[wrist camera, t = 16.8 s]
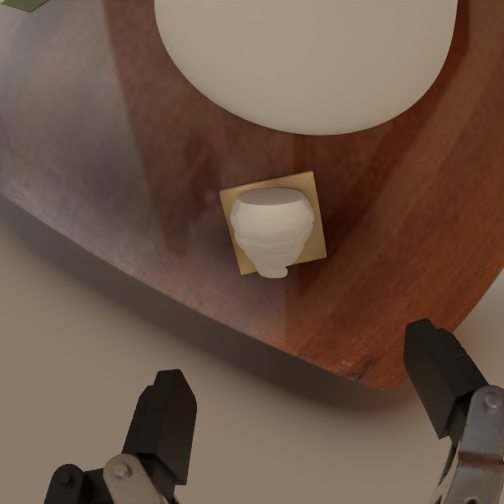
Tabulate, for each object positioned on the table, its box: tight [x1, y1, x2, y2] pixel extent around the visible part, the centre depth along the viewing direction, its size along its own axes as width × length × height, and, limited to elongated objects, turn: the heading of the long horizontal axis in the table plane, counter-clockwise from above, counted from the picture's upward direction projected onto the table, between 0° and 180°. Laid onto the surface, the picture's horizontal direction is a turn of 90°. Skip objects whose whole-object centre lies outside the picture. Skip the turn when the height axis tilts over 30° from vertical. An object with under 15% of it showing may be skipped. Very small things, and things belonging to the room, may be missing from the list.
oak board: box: [219, 170, 327, 275], centre depth 24 cm, size 7×7×1 cm
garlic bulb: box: [230, 188, 314, 278], centre depth 21 cm, size 6×6×6 cm
